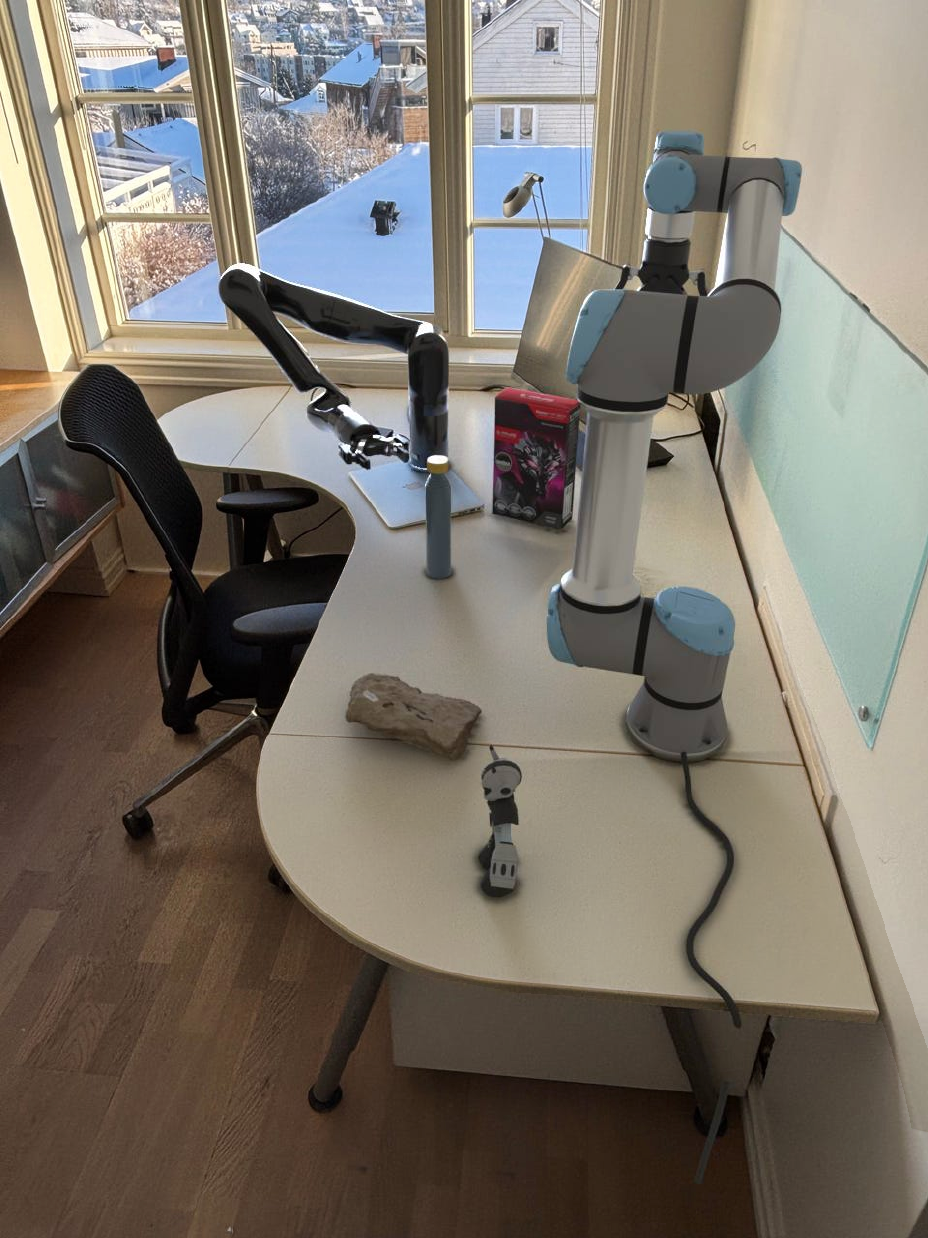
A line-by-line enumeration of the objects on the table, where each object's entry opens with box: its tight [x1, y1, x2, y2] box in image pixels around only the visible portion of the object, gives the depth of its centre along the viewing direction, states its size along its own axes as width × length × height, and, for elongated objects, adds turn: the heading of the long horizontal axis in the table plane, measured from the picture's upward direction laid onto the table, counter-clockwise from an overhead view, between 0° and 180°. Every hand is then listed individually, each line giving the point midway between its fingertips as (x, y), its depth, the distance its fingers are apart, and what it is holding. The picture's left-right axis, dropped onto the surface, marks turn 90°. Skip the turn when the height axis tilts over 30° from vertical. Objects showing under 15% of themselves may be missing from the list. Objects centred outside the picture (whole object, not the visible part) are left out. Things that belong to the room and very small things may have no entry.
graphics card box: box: [491, 386, 582, 531], centre depth 194 cm, size 17×7×27 cm, turn 62°
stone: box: [344, 672, 483, 761], centre depth 141 cm, size 21×15×6 cm
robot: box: [477, 744, 523, 898], centre depth 114 cm, size 20×5×20 cm, turn 3°
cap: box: [427, 455, 450, 474], centre depth 169 cm, size 4×4×2 cm
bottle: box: [424, 472, 452, 580], centre depth 176 cm, size 5×5×24 cm
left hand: (388, 461), depth 189 cm, fingers open, 8 cm apart
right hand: (652, 364), depth 163 cm, fingers open, 13 cm apart
